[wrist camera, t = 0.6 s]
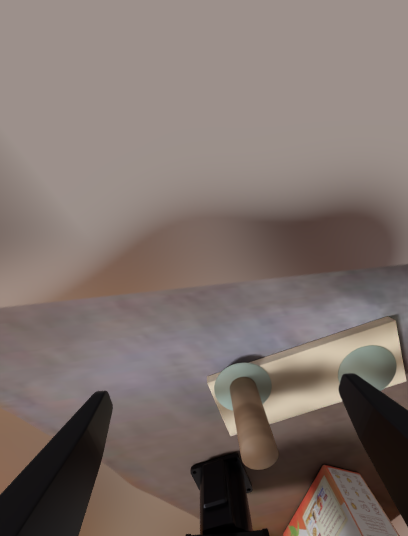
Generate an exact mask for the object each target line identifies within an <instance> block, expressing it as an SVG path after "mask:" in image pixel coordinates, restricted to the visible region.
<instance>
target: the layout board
mask: <svg viewBox="0 0 408 536" xmlns="http://www.w3.org/2000/svg"><path fill="white" fill-rule="evenodd" d="M346 373H355V374H357V375H358V376H360V377H361V378H362V379H364V380H365V381H367V382H368V383H370V384H371V385H372V386H374V387H375V388H377V389H378V390H380V391H381V390H383V389H384V388H386V387H390V386H393V385H396V384H399V383H402V382H406V376H405V371H404V365H403V359H402V354H401V348H400V343H399V337H398V331H397V326H396V321H395V320H394V319H392V318H390V317H388V316H387V317H384V318H381V319H378V320H375V321H372V322H369V323H366V324H363V325H360V326H357V327H354V328H351V329H348V330H345V331H342V332H339V333H336V334H333V335H330V336H327V337H324V338H321V339H318V340H315V341H312V342H309V343H306V344H303V345H300V346H297V347H294V348H291V349H288V350H285V351H282V352H279V353H276V354H273V355H270V356H267V357H264V358H261V359H258V360H255V361H252V362H249V363H236V364H233V365H231V366H229V367H227V368H225V369H224V370H223V371H222V372H219V373H216V374H213V375H210V376H207V384H208V386H209V388H210V390H211V393H212V395H213V397H214V400H215V402H216V404H217V406H218V409H219V411H220V413H221V416H222V418H223V420H224V422H225V425H226V427H227V429H228V432H229V434H230V436H233V435H236V434H237V436H238V441H239V447H240V453H241V459H242V462H243V463H244V464H245V465H246V466H247V467H249V468H251V469H255V470H262V469H266V468H269V467H270V466H272V465H273V464H274V463H275V462H276V461H277V459H278V456H279V452H278V449H277V446H276V443H275V440H274V437H273V434H272V431H271V428H270V425H269V424H271V423H275V422H278V421H281V420H284V419H287V418H291V417H294V416H297V415H300V414H303V413H307V412H310V411H313V410H316V409H319V408H322V407H326V406H329V405H332V404H335V403H338V402H342V399H341V397H340V394H339V389H338V388H339V384H340V381H341V377H342V375H343V374H346Z"/></svg>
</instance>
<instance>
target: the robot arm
mask: <svg viewBox="0 0 408 536" xmlns="http://www.w3.org/2000/svg"><path fill="white" fill-rule="evenodd" d="M338 389H339V394H340V397H341V399H342V401H343V403H344V406H345V408H346V410H347V412H348V415H349V417H350V419H351V421H352V424H353V426H354V428H355V430H356V432H357V435H358V437H359V439H360V441H361V443H362V445H363V446H364V448H365V450H366V452H367V454H368V456H369V457H370V459H371V461H372V463H373V465H374V467H375V468H376V470H377V472H378V474H379V476H380V477H381V479H382V481H383V483H384V485H385V486H386V488H387V490H388V492H389V494H390V496H391V497H392V499H393V501H394V503H395V505H396V506H397V508H398V510H399V512H400V514H401V516H402V517H403V519H404V521H405V523H406V524H407V526H408V410H407V409H405V408H404V407H402V406H401V405H399V404H398V403H397V402H395V401H394V400H392V399H391V398H390V397H388V396H387V395H385V394H384V393H382V392H381V391H380V390H378V389H377V388H375V387H374V386H372V385H371V384H370V383H368V382H367V381H365V380H364V379H362V378H361V377H360V376H358V375H357V374H355V373H346V374H343V375H342V377H341V381H340V384H339V388H338ZM112 409H113V405H112V402H111V399H110V396H109V394H108V392H107V391H97V392H95V393H94V394H93V395H92V396H91V397H90V398H89V399H88V400H87V401H86V402H85V404H84V405H83V406H82V407H81V408H80V409H79V410H78V411H77V412H76V413H75V414H74V415H73V417H72V418H71V419H70V420H69V421H68V422H67V423H66V424H65V425H64V426H63V427H62V428H61V430H60V431H59V432H58V433H57V434H56V435H55V436H54V437H53V438H52V439H51V440H50V442H49V443H48V444H47V445H46V446H45V447H44V448H43V449H42V450H41V451H40V452H39V453H38V455H37V456H36V457H35V458H34V459H33V460H32V461H31V462H30V463H29V464H28V465H27V466H26V467H25V469H24V470H23V471H22V472H21V473H20V474H19V475H18V476H17V477H16V478H15V479H14V480H13V481H12V483H11V484H10V485H9V486H8V487H7V488H6V489H5V490H4V491H3V493H1V494H0V536H78V535H79V532H80V529H81V525H82V522H83V519H84V516H85V513H86V509H87V506H88V503H89V500H90V496H91V493H92V490H93V487H94V483H95V480H96V477H97V474H98V470H99V467H100V464H101V460H102V456H103V452H104V447H105V443H106V438H107V433H108V429H109V424H110V419H111V415H112ZM191 475H192V477H193V479H194V481H195V483H196V484H197V486H198V488H199V490H200V535H191V534H186V536H269V532H268V529H267V528H266V529H262V530H257V531H253V529H252V523H251V517H250V511H249V505H248V499H247V493H249V492H252V490H253V489H252V485H251V482H250V480H249V478H248V475H247V473H246V471H245V469H244V466H243V464H242V462H241V460H240V457H239V455H238V454H236V453H234V454H231V455H228V456H224V457H221V458H218V459H215V460H211V461H208V462H205V463H202V464H198V465H195V466H192V467H191Z"/></svg>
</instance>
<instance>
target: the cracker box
mask: <svg viewBox="0 0 408 536" xmlns="http://www.w3.org/2000/svg"><path fill="white" fill-rule="evenodd" d="M283 536H399V534H398V533H397V531H396V529H395V528H394V526H393V525H392V523H391V522H390V520H389V518H388V517H387V515H386V514H385V512H384V511H383V509H382V507H381V506H380V504H379V503H378V501H377V500H376V498H375V496H374V495H373V493H372V492H371V490H370V489H369V487H368V486H367V484H366V482H365V481H364V479H363V478H362V476H361V475H360V473H357V472H352V471H348V470H344V469H340V468H336V467H332V466H328V465H323V466H322V468H321V470H320V471H319V473H318V475H317V477H316V478H315V480H314V482H313V483H312V485H311V487H310V488H309V490H308V492H307V494H306V495H305V497H304V499H303V500H302V502H301V504H300V506H299V507H298V509H297V511H296V513H295V514H294V516H293V518H292V519H291V521H290V523H289V525H288V526H287V528H286V530H285V531H284V533H283Z"/></svg>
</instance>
